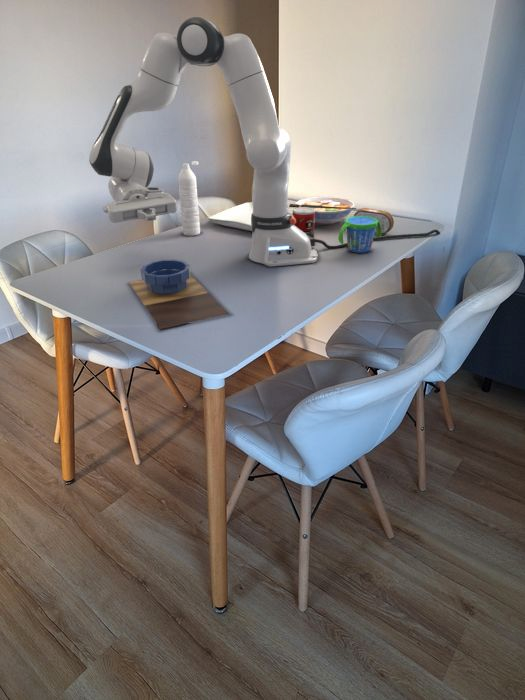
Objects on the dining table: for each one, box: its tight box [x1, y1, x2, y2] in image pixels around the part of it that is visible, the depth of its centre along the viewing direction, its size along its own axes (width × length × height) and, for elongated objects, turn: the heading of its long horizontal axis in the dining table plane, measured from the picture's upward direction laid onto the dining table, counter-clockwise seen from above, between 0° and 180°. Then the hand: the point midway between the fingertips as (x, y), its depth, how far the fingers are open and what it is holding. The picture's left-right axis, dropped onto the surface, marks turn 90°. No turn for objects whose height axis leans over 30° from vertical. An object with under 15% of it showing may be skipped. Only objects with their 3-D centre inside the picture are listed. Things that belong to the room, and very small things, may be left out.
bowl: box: [140, 258, 191, 294], centre depth 144 cm, size 13×13×6 cm
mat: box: [144, 292, 230, 331], centre depth 133 cm, size 15×18×1 cm
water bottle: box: [177, 160, 201, 237], centre depth 186 cm, size 9×6×25 cm
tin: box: [353, 207, 395, 236], centre depth 187 cm, size 15×3×8 cm, turn 58°
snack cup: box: [338, 215, 382, 254], centre depth 170 cm, size 16×10×10 cm
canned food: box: [292, 207, 316, 238], centre depth 179 cm, size 8×8×11 cm
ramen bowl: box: [288, 196, 357, 226], centre depth 199 cm, size 25×23×8 cm
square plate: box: [206, 201, 294, 232], centre depth 201 cm, size 27×27×4 cm
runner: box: [128, 274, 209, 306], centre depth 146 cm, size 18×18×1 cm
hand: (151, 218), depth 145 cm, fingers closed
